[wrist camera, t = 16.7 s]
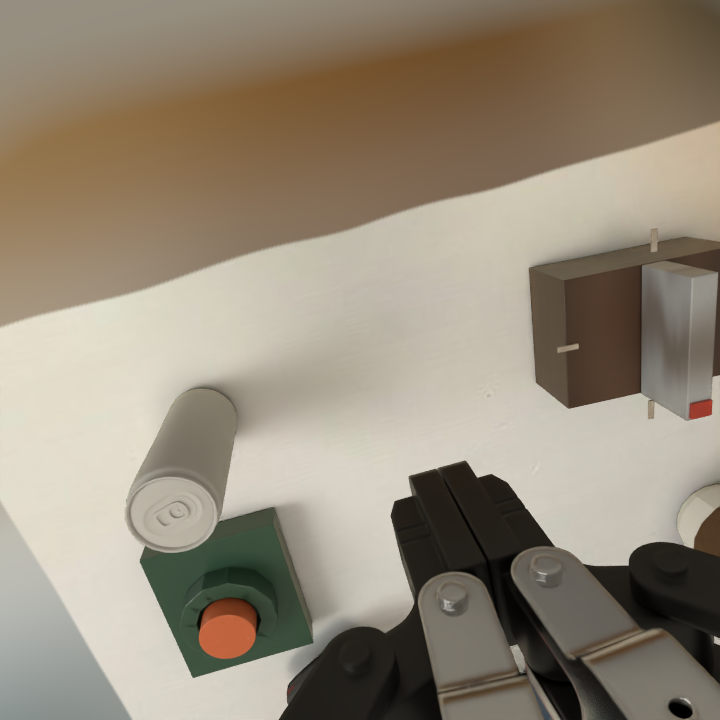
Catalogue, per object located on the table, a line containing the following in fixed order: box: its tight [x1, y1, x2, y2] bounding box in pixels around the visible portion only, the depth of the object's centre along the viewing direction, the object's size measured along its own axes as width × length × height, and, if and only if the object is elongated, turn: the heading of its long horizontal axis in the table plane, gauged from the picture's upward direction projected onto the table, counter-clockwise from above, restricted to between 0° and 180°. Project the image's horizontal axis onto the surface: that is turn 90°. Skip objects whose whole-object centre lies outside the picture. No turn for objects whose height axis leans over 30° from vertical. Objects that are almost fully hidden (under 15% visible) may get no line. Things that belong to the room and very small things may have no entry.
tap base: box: [529, 229, 720, 419], centre depth 38 cm, size 13×13×5 cm
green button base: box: [140, 508, 313, 678], centre depth 42 cm, size 12×10×4 cm
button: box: [199, 597, 257, 659], centre depth 39 cm, size 4×4×2 cm
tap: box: [641, 261, 718, 421], centre depth 33 cm, size 9×2×5 cm, turn 10°
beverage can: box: [125, 388, 237, 553], centre depth 33 cm, size 5×5×12 cm
